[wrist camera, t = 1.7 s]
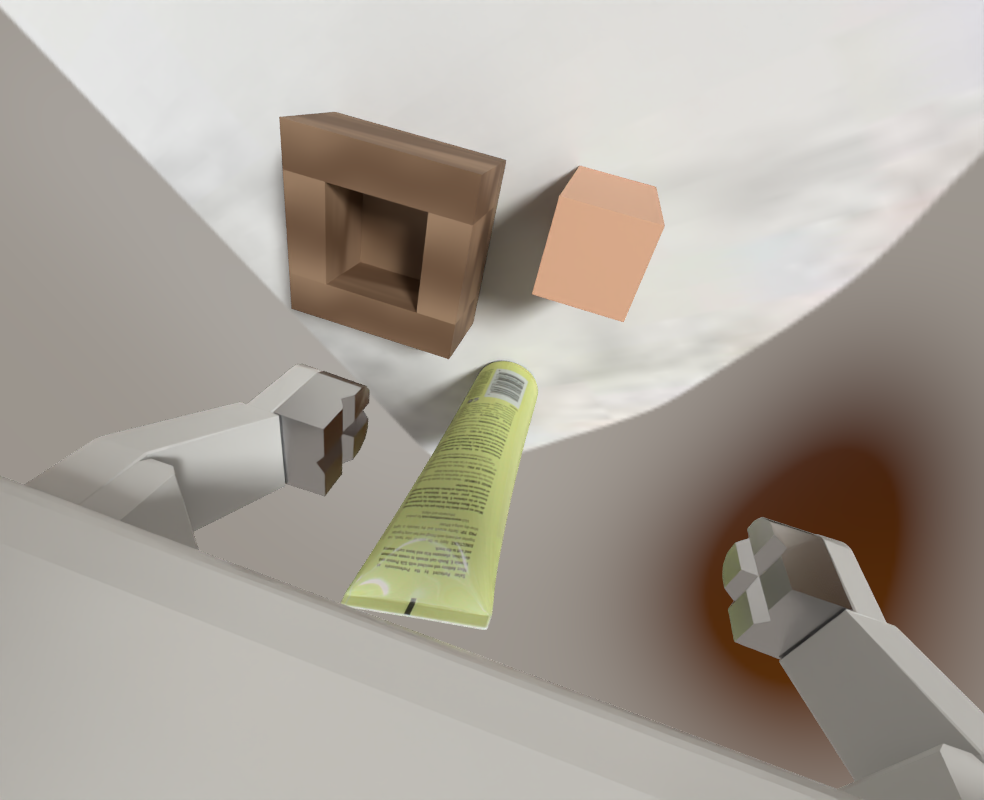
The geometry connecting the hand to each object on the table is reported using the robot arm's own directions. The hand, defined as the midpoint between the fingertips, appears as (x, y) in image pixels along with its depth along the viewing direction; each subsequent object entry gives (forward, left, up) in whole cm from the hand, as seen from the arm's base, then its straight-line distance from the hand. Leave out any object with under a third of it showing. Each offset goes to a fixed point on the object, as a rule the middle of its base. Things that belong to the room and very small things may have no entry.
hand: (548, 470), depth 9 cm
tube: (+14, -3, -23) cm, 27 cm away
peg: (0, 0, -23) cm, 23 cm away
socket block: (+4, -12, -23) cm, 26 cm away
